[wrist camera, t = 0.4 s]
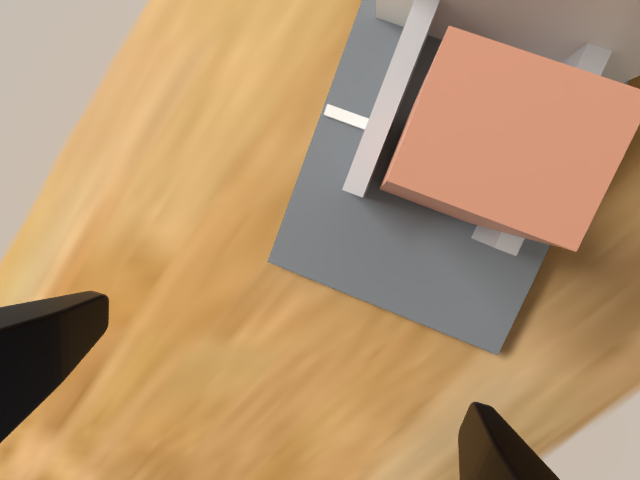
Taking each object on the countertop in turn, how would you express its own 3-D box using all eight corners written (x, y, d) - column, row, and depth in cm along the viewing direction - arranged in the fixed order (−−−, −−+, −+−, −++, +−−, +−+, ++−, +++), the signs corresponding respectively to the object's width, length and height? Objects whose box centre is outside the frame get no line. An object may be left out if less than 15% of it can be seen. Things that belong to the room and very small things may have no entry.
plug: (467, 222, 20) (576, 252, 10) (379, 189, 21) (387, 181, 10) (499, 150, 20) (654, 94, 9) (407, 117, 20) (448, 25, 9)
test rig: (492, 348, 22) (654, 552, 9) (272, 259, 23) (151, 333, 11) (659, -3, 19) (1230, -399, 6) (396, -84, 20) (436, -557, 8)
